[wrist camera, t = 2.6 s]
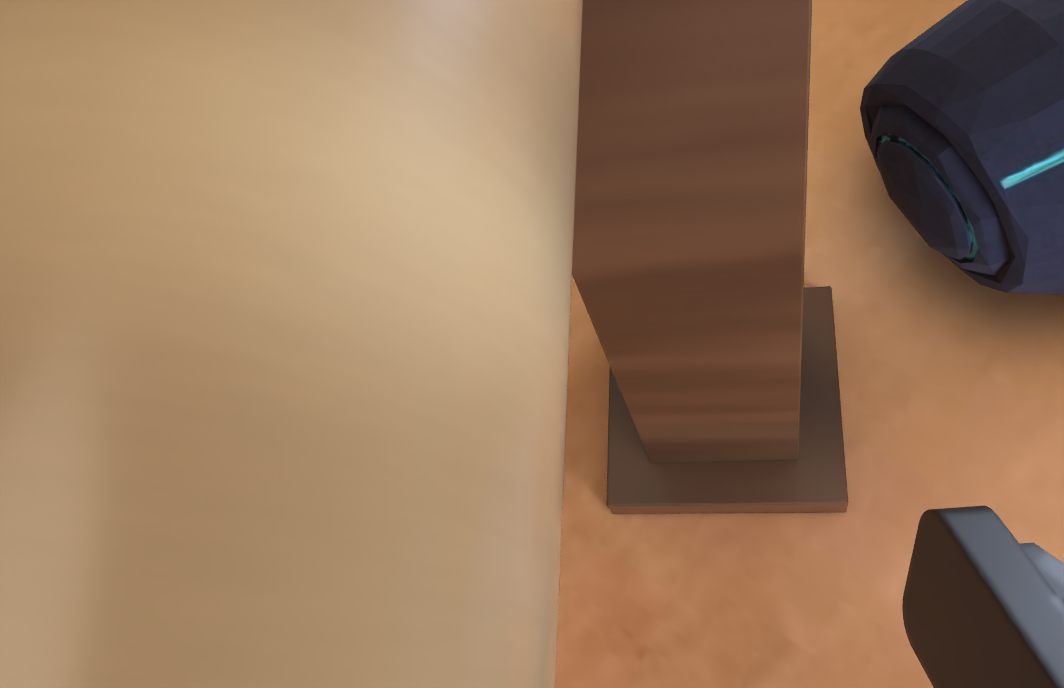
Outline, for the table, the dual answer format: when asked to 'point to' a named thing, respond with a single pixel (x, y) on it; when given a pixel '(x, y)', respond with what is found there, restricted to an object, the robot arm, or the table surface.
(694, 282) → the stand
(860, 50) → the table surface
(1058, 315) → the table surface
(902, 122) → the portable speaker
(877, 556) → the table surface
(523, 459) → the green wooden mallet
